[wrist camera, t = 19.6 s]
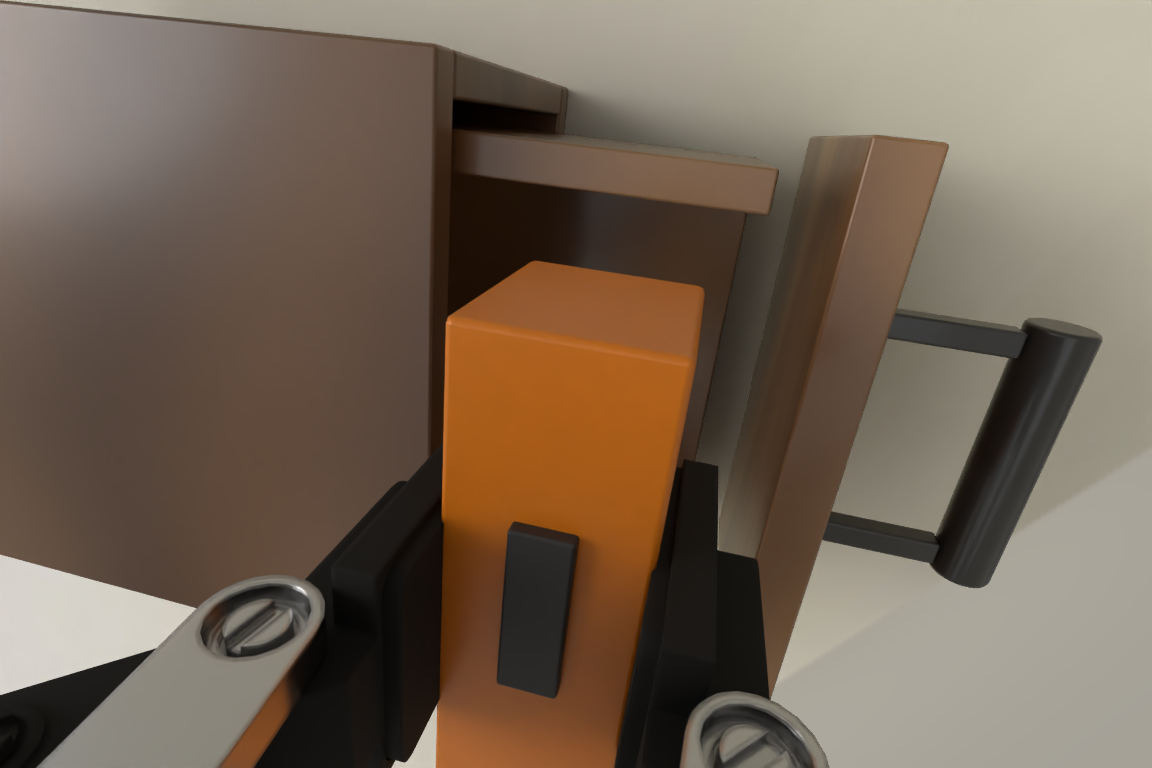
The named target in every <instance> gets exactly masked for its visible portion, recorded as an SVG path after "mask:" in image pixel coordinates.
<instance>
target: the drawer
mask: <svg viewBox="0 0 1152 768" xmlns="http://www.w3.org/2000/svg"><path fill="white" fill-rule="evenodd" d="M948 149H949V146H948V144H947V143H945V142H936V141H927V140H918V139H909V138H900V137H891V136H882V135H853V136H814V137H811V138H810V140H809V145H808V149H807V153H806V157H805V161H804V166H803V170H802V174H801V178H800V182H799V186H798V191H797V195H796V199H795V203H794V207H793V212H792V216H791V220H790V224H789V228H788V233H787V237H786V241H785V245H784V249H783V253H782V258H781V262H780V266H779V270H778V274H777V279H776V283H775V287H774V291H773V295H772V299H771V304H770V308H769V312H768V316H767V320H766V325H765V329H764V333H763V337H762V341H761V346H760V350H759V354H758V358H757V362H756V366H755V371H754V375H753V379H752V383H751V387H750V392H749V396H748V400H747V404H746V408H745V412H744V417H743V421H742V425H741V429H740V433H739V438H738V442H737V446H736V450H735V454H734V459H733V463H732V467H731V471H730V475H729V479H728V484H727V488H726V492H725V496H724V500H723V505H722V509H721V513H720V517H719V551H724V552H728V553H733V554H737V555H742V556H746V557H751V558H755V559H756V560H757V561H758V566H759V575H760V587H761V599H762V611H763V623H764V635H765V647H766V659H767V672H768V684H769V696H770V699H771V696H772V693H773V690H774V687H775V684H776V681H777V678H778V675H779V671H780V668H781V665H782V662H783V659H784V656H785V653H786V650H787V647H788V644H789V640H790V637H791V634H792V631H793V628H794V625H795V622H796V619H797V616H798V613H799V610H800V606H801V603H802V600H803V597H804V594H805V591H806V588H807V585H808V582H809V579H810V576H811V572H812V569H813V566H814V563H815V560H816V557H817V554H818V551H819V548H820V545H821V541H822V540H824V541H829V542H834V543H838V544H843V545H848V546H852V547H857V548H862V549H866V550H871V551H876V552H880V553H885V554H890V555H894V556H899V557H904V558H908V559H913V560H918V561H923V562H927V563H929V564H930V566H931V567H932V568H933V569H934V570H935V571H936V572H937V573H938V574H939V575H941V576H942V577H944V578H946V579H947V580H949V581H951V582H954V583H956V584H958V585H961V586H965V587H970V588H981V587H984V586H986V585H987V584H988V583H989V581H990V580H991V577H992V575H993V573H994V571H995V569H996V567H997V565H998V562H999V560H1000V558H1001V556H1002V554H1003V552H1004V550H1005V548H1006V545H1007V543H1008V541H1009V539H1010V537H1011V535H1012V533H1013V531H1014V528H1015V526H1016V524H1017V522H1018V520H1019V518H1020V516H1021V513H1022V511H1023V509H1024V507H1025V505H1026V503H1027V501H1028V499H1029V496H1030V494H1031V492H1032V490H1033V488H1034V486H1035V484H1036V482H1037V479H1038V477H1039V475H1040V473H1041V471H1042V469H1043V467H1044V464H1045V462H1046V460H1047V458H1048V456H1049V454H1050V452H1051V450H1052V447H1053V445H1054V443H1055V441H1056V439H1057V437H1058V435H1059V432H1060V430H1061V428H1062V426H1063V424H1064V422H1065V420H1066V418H1067V415H1068V413H1069V411H1070V409H1071V407H1072V405H1073V403H1074V401H1075V398H1076V396H1077V394H1078V392H1079V390H1080V388H1081V386H1082V383H1083V381H1084V379H1085V377H1086V375H1087V373H1088V371H1089V369H1090V366H1091V364H1092V362H1093V360H1094V358H1095V356H1096V354H1097V351H1098V349H1099V347H1100V345H1101V343H1102V336H1101V335H1100V334H1098V333H1097V332H1095V331H1093V330H1091V329H1088V328H1085V327H1082V326H1079V325H1075V324H1071V323H1067V322H1063V321H1058V320H1052V319H1045V318H1028V319H1026V320H1025V321H1024V322H1023V324H1022V327H1021V329H1019V328H1017V327H1015V326H1008V325H1002V324H995V323H989V322H982V321H976V320H969V319H963V318H956V317H950V316H943V315H937V314H930V313H924V312H917V311H911V310H904V309H898V308H897V306H898V303H899V300H900V297H901V294H902V291H903V288H904V285H905V282H906V278H907V275H908V272H909V269H910V266H911V263H912V260H913V257H914V254H915V251H916V248H917V244H918V241H919V238H920V235H921V232H922V229H923V226H924V223H925V220H926V217H927V213H928V210H929V207H930V204H931V201H932V198H933V195H934V192H935V189H936V186H937V183H938V179H939V176H940V173H941V170H942V167H943V164H944V161H945V158H946V155H947V152H948ZM778 173H779V171H778V169H776V168H774V167H772V166H771V165H769V164H767V163H765V162H763V161H761V160H760V159H758V158H755V157H749V156H741V155H733V154H724V153H716V152H708V151H699V150H691V149H683V148H675V147H666V146H658V145H650V144H641V143H633V142H625V141H616V140H608V139H600V138H592V137H583V136H575V135H567V134H558V133H550V132H542V131H534V130H525V129H517V128H509V127H500V126H492V125H484V124H476V123H467V122H459V121H452V148H451V186H450V224H449V263H448V301H447V319H448V317H449V316H450V315H451V314H453V313H454V312H456V311H457V310H459V309H460V308H462V307H463V306H465V305H466V304H468V303H469V302H471V301H472V300H474V299H475V298H477V297H479V296H480V295H482V294H483V293H485V292H486V291H488V290H489V289H491V288H492V287H494V286H495V285H497V284H498V283H500V282H501V281H503V280H504V279H506V278H507V277H509V276H510V275H512V274H513V273H515V272H516V271H518V270H519V269H521V268H522V267H524V266H525V265H527V264H528V263H530V262H532V261H541V262H548V263H554V264H561V265H567V266H573V267H580V268H586V269H593V270H599V271H606V272H612V273H619V274H625V275H631V276H638V277H644V278H651V279H657V280H664V281H670V282H676V283H683V284H689V285H696V286H700V287H702V288H703V289H704V293H705V295H704V304H703V312H702V321H701V329H700V338H699V346H698V355H697V363H696V369H695V374H694V379H693V385H692V390H691V395H690V400H689V405H688V410H687V415H686V420H685V425H684V430H683V435H682V440H681V445H680V450H679V455H678V460H677V465H676V467H680V468H682V465H683V461H684V459H686V460H691V461H695V459H696V454H697V449H698V444H699V440H700V435H701V430H702V425H703V421H704V416H705V411H706V407H707V402H708V397H709V392H710V388H711V383H712V378H713V373H714V369H715V364H716V359H717V354H718V350H719V345H720V340H721V335H722V331H723V326H724V321H725V317H726V312H727V307H728V302H729V298H730V293H731V288H732V283H733V279H734V274H735V269H736V264H737V260H738V255H739V250H740V245H741V241H742V236H743V231H744V227H745V222H746V217H747V213H752V214H759V215H768V214H769V213H770V209H771V205H772V200H773V196H774V191H775V187H776V182H777V178H778ZM887 338H888V339H894V340H900V341H907V342H913V343H919V344H925V345H932V346H938V347H944V348H950V349H956V350H963V351H969V352H975V353H981V354H987V355H994V356H1000V357H1006V358H1008V361H1007V363H1006V366H1005V368H1004V371H1003V373H1002V376H1001V378H1000V380H999V383H998V385H997V388H996V390H995V393H994V395H993V397H992V400H991V402H990V405H989V407H988V410H987V412H986V414H985V417H984V419H983V422H982V424H981V427H980V429H979V432H978V434H977V436H976V439H975V441H974V444H973V446H972V449H971V451H970V453H969V456H968V458H967V461H966V463H965V466H964V468H963V470H962V473H961V475H960V478H959V480H958V483H957V485H956V488H955V490H954V492H953V495H952V497H951V500H950V502H949V505H948V507H947V509H946V512H945V514H944V517H943V519H942V522H941V524H940V527H939V529H938V531H937V534H936V536H935V535H934V533H932V532H928V531H923V530H919V529H914V528H909V527H904V526H899V525H894V524H890V523H885V522H880V521H875V520H870V519H865V518H860V517H856V516H851V515H846V514H841V513H836V512H831V511H832V507H833V504H834V501H835V498H836V495H837V492H838V489H839V486H840V483H841V480H842V476H843V473H844V470H845V467H846V464H847V461H848V458H849V455H850V452H851V449H852V446H853V442H854V439H855V436H856V433H857V430H858V427H859V424H860V421H861V418H862V415H863V412H864V408H865V405H866V402H867V399H868V396H869V393H870V390H871V387H872V384H873V381H874V377H875V374H876V371H877V368H878V365H879V362H880V359H881V356H882V353H883V350H884V347H885V343H886V340H887Z"/></svg>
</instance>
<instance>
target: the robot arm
mask: <svg viewBox="0 0 1152 768" xmlns="http://www.w3.org/2000/svg"><path fill="white" fill-rule="evenodd" d="M442 474H443V443H442V444H441V445H440V446H439V447H438V448H437V449H436V451H435V452H434V453H433V454H432V455H431V456H430V457H429V458H428V459H427V460H426V462H425V463H424V464H423V465H422V466H421V467H420V468H419V469H418V470H417V471H416V473H415V474H414V475H413V476H412V477H411V478H410V479H409V480H408V481H398V482H397V483H396V484H394V485H393V486H392V487H391V488H390V489H389V490H388V491H387V492H386V493H385V494H384V495H383V497H382V498H381V499H380V500H379V501H378V502H377V503H376V504H375V505H374V506H373V507H372V508H371V509H370V510H369V511H368V513H367V514H366V515H365V516H364V517H363V518H362V519H361V520H360V521H359V522H358V523H357V524H356V525H355V526H354V527H353V529H352V530H351V531H350V532H349V533H348V534H347V535H346V536H345V537H344V538H343V539H342V540H341V541H340V542H339V543H338V545H337V546H336V547H335V548H334V549H333V550H332V551H331V552H330V553H329V554H328V555H327V556H326V557H325V558H324V559H323V561H322V562H321V563H320V564H319V565H318V566H317V567H316V568H315V569H314V570H313V571H312V572H311V573H310V574H309V575H308V577H307V578H306V579H305V580H304V579H301V578H298V577H295V576H288V575H276V574H275V575H267V576H258V577H253V578H250V579H247V580H243V581H240V582H237V583H234V584H232V585H230V586H228V587H226V588H224V589H222V590H220V591H218V592H216V593H215V594H214V595H212V596H211V597H210V598H209V599H207V600H206V601H205V602H204V603H202V604H201V605H200V606H199V607H198V608H197V609H196V610H195V611H194V612H193V613H192V614H191V615H190V616H189V617H188V618H187V619H186V620H185V621H184V622H183V623H182V624H181V625H180V626H179V627H178V628H177V629H176V630H175V631H174V632H173V633H172V634H171V635H170V636H169V637H168V638H167V639H166V640H164V641H163V642H162V643H161V644H160V645H159V646H158V647H157V648H156V649H153V650H149V651H146V652H143V653H139V654H136V655H133V656H129V657H126V658H123V659H119V660H116V661H113V662H109V663H106V664H103V665H99V666H96V667H93V668H89V669H86V670H83V671H79V672H76V673H73V674H69V675H66V676H63V677H59V678H56V679H53V680H49V681H46V682H43V683H39V684H36V685H33V686H29V687H26V688H23V689H19V690H16V691H13V692H9V693H6V694H3V695H0V768H391V767H392V766H393V764H394V762H395V760H397V761H401V762H406V761H407V760H408V759H409V758H410V756H411V755H412V753H413V751H414V749H415V747H416V745H417V743H418V741H419V739H420V737H421V735H422V733H423V731H424V729H425V727H426V725H427V723H428V721H429V719H430V717H431V715H432V713H433V711H434V709H435V707H436V705H437V703H438V701H439V694H440V653H441V613H442V572H443V531H444V523H443V522H441V518H442ZM717 539H718V466H716V465H711V464H706V463H701V462H696V461H691V460H686V459H684V461H683V465H682V468H680V467H676V470H675V475H674V481H673V486H672V491H671V496H670V501H669V506H668V511H667V516H666V521H665V526H664V531H663V536H662V541H661V546H660V551H659V556H658V561H657V566H656V568H655V569H654V570H653V571H652V574H651V579H650V584H649V589H648V594H647V599H646V604H645V609H644V615H643V620H642V625H641V630H640V635H639V640H638V645H637V650H636V655H635V661H634V666H633V671H632V676H631V681H630V686H629V691H628V696H627V702H626V707H625V712H624V717H623V722H622V727H621V732H620V737H619V743H618V748H617V753H616V759H615V765H614V768H829V765H828V761H827V758H826V755H825V753H824V751H823V750H822V748H821V746H820V744H819V743H818V741H817V739H816V738H815V736H814V735H813V733H812V732H811V731H810V730H809V729H808V728H807V727H806V726H805V725H804V724H803V723H802V722H801V721H800V719H799V718H798V717H796V716H795V715H793V714H792V713H791V712H789V711H788V710H786V709H785V708H784V707H782V706H781V705H779V704H778V703H775V702H773V701H771V700H770V696H769V684H768V672H767V659H766V647H765V635H764V623H763V611H762V599H761V587H760V575H759V566H758V561H757V560H756V559H755V558H751V557H746V556H742V555H737V554H733V553H728V552H724V551H719V550H717Z"/></svg>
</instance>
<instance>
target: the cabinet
mask: <svg viewBox="0 0 1152 768" xmlns="http://www.w3.org/2000/svg"><path fill="white" fill-rule="evenodd" d="M567 95H568V90H567V88H566V87H563V86H560V85H557V84H554V83H551V82H548V81H545V80H542V79H539V78H536V77H533V76H530V75H527V74H524V73H521V72H518V71H515V70H512V69H509V68H506V67H503V66H500V65H497V64H494V63H491V62H488V61H485V60H482V59H479V58H476V57H473V56H470V55H467V54H464V53H461V52H458V51H454V50H451V49H449V48H446V47H443V46H440V45H437V44H432V43H422V42H412V41H402V40H392V39H382V38H372V37H362V36H352V35H342V34H332V33H322V32H312V31H302V30H293V29H283V28H273V27H263V26H253V25H243V24H233V23H223V22H213V21H203V20H193V19H183V18H173V17H163V16H153V15H143V14H133V13H123V12H113V11H103V10H93V9H83V8H73V7H63V6H53V5H43V4H33V3H23V2H13V1H3V0H0V554H1V555H4V556H8V557H12V558H15V559H19V560H23V561H26V562H30V563H34V564H37V565H41V566H44V567H48V568H52V569H55V570H59V571H63V572H66V573H70V574H74V575H77V576H81V577H85V578H88V579H92V580H96V581H99V582H103V583H107V584H110V585H114V586H118V587H121V588H125V589H129V590H132V591H136V592H140V593H143V594H147V595H151V596H154V597H158V598H161V599H165V600H169V601H172V602H176V603H180V604H183V605H187V606H191V607H194V608H198V607H199V606H200V605H201V604H202V603H204V602H205V601H206V600H207V599H209V598H210V597H211V596H212V595H214V594H215V593H216V592H218V591H220V590H222V589H224V588H226V587H228V586H230V585H232V584H234V583H237V582H240V581H243V580H247V579H250V578H253V577H258V576H267V575H275V574H276V575H288V576H295V577H298V578H301V579H304V580H305V579H306V578H307V577H308V575H309V574H310V573H311V572H312V571H313V570H314V569H315V568H316V567H317V566H318V565H319V564H320V563H321V562H322V561H323V559H324V558H325V557H326V556H327V555H328V554H329V553H330V552H331V551H332V550H333V549H334V548H335V547H336V546H337V545H338V543H339V542H340V541H341V540H342V539H343V538H344V537H345V536H346V535H347V534H348V533H349V532H350V531H351V530H352V529H353V527H354V526H355V525H356V524H357V523H358V522H359V521H360V520H361V519H362V518H363V517H364V516H365V515H366V514H367V513H368V511H369V510H370V509H371V508H372V507H373V506H374V505H375V504H376V503H377V502H378V501H379V500H380V499H381V498H382V497H383V495H384V494H385V493H386V492H387V491H388V490H389V489H390V488H391V487H392V486H393V485H394V484H396V483H397V482H398V481H408V480H409V479H410V478H411V477H412V476H413V475H414V474H415V473H416V471H417V470H418V469H419V468H420V467H421V466H422V465H423V464H424V463H425V462H426V460H427V459H428V458H429V457H430V456H431V455H432V454H433V453H434V452H435V451H436V449H437V448H438V447H439V446H440V445H441V444H442V443H443V429H444V385H445V340H446V321H447V301H448V263H449V224H450V186H451V148H452V121H459V122H467V123H476V124H484V125H492V126H500V127H509V128H517V129H525V130H534V131H542V132H550V133H558V134H564V127H565V116H566V106H567Z"/></svg>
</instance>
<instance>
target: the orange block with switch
mask: <svg viewBox="0 0 1152 768" xmlns="http://www.w3.org/2000/svg"><path fill="white" fill-rule="evenodd" d="M704 295H705V293H704V289H703V288H702V287H700V286H696V285H689V284H683V283H676V282H670V281H664V280H657V279H651V278H644V277H638V276H631V275H625V274H619V273H612V272H606V271H599V270H593V269H586V268H580V267H573V266H567V265H561V264H554V263H548V262H541V261H532V262H530V263H528V264H527V265H525V266H524V267H522V268H521V269H519V270H518V271H516V272H515V273H513V274H512V275H510V276H509V277H507V278H506V279H504V280H503V281H501V282H500V283H498V284H497V285H495V286H494V287H492V288H491V289H489V290H488V291H486V292H485V293H483V294H482V295H480V296H479V297H477V298H475V299H474V300H472V301H471V302H469V303H468V304H466V305H465V306H463V307H462V308H460V309H459V310H457V311H456V312H454V313H453V314H451V315H450V316H449V317H448V319H447V321H446V340H445V385H444V429H443V474H442V518H441V522H443V523H444V531H443V572H442V613H441V653H440V694H439V701H438V703H437V741H436V768H614V765H615V759H616V753H617V748H618V743H619V737H620V732H621V727H622V722H623V717H624V712H625V707H626V702H627V696H628V691H629V686H630V681H631V676H632V671H633V666H634V661H635V655H636V650H637V645H638V640H639V635H640V630H641V625H642V620H643V615H644V609H645V604H646V599H647V594H648V589H649V584H650V579H651V574H652V571H653V570H654V569H655V568H656V566H657V561H658V556H659V551H660V546H661V541H662V536H663V531H664V526H665V521H666V516H667V511H668V506H669V501H670V496H671V491H672V486H673V481H674V475H675V470H676V465H677V460H678V455H679V450H680V445H681V440H682V435H683V430H684V425H685V420H686V415H687V410H688V405H689V400H690V395H691V390H692V385H693V379H694V374H695V369H696V363H697V355H698V346H699V338H700V329H701V321H702V312H703V304H704Z"/></svg>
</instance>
